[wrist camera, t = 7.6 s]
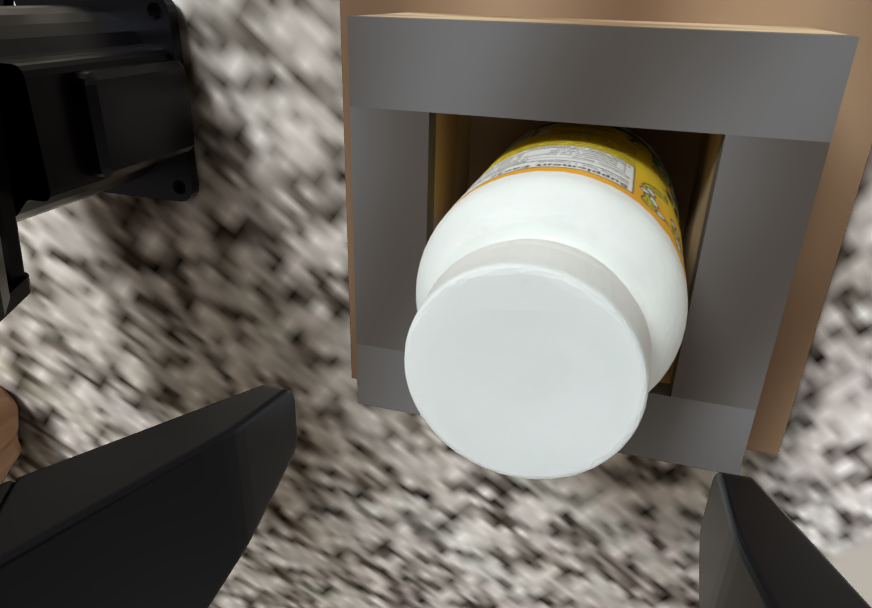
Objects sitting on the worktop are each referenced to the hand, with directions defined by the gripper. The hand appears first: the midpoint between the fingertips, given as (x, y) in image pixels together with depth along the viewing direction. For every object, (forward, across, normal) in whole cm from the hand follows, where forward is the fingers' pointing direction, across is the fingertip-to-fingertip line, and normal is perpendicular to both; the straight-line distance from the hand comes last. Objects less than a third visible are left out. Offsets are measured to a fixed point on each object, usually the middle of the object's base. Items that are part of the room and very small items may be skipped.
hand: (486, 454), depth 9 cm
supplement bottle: (+12, 0, 0) cm, 12 cm away
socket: (+12, 0, 0) cm, 12 cm away
